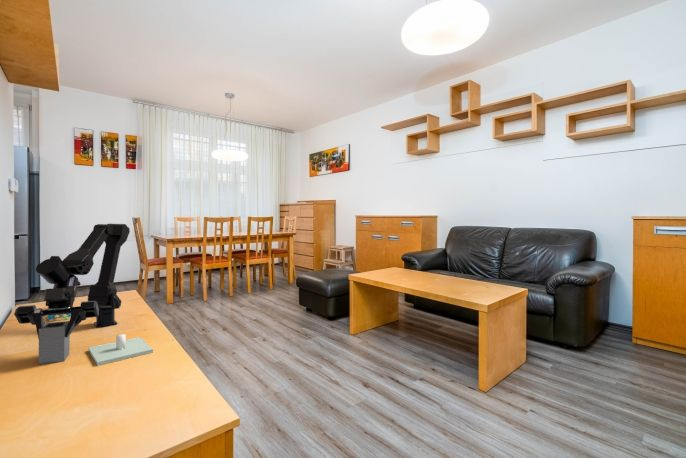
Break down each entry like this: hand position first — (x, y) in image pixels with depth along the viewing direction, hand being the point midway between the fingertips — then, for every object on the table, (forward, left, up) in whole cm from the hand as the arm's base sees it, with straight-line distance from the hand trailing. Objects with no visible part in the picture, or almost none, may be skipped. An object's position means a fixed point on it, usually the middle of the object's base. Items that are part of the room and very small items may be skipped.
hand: (53, 338), depth 94 cm
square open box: (-1, 0, -7) cm, 7 cm away
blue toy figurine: (-48, +6, -7) cm, 49 cm away
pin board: (+5, +15, -7) cm, 17 cm away
